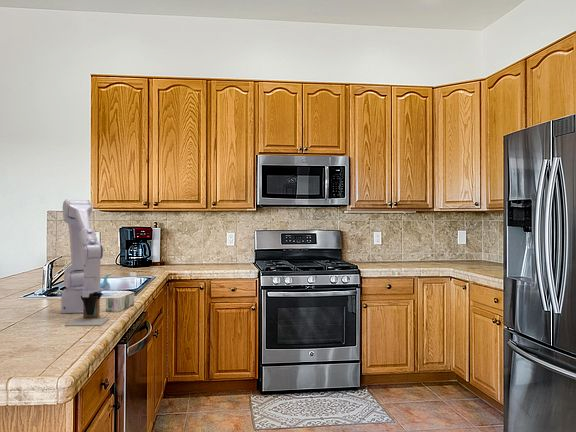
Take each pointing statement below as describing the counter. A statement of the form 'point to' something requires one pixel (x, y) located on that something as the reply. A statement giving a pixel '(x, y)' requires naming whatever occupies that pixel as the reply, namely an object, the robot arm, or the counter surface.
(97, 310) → the walnut slab
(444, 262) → the counter surface
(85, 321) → the grey mat
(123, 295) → the syrup box
